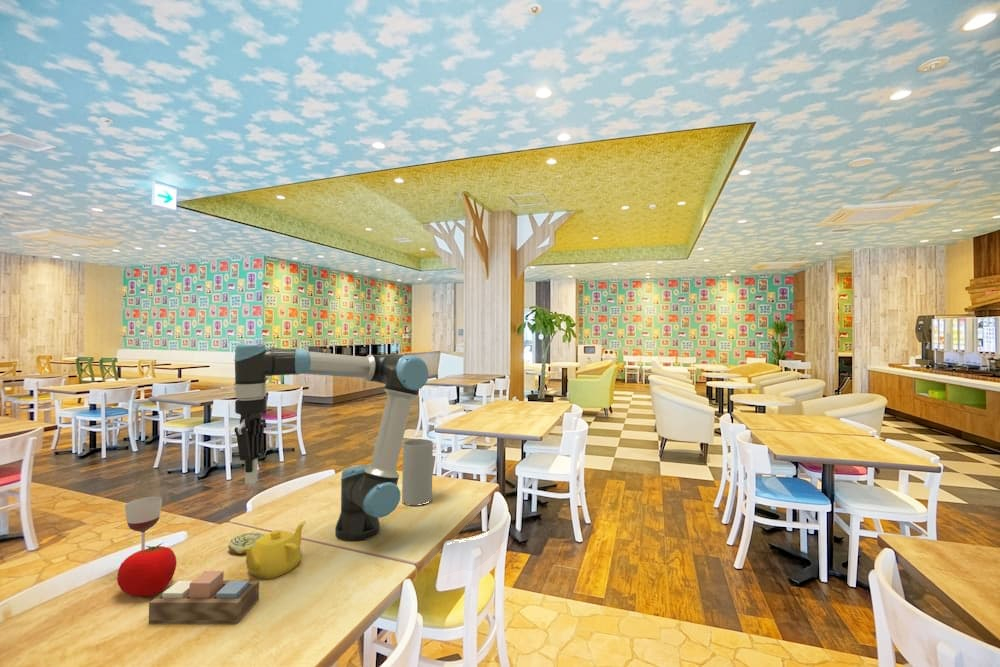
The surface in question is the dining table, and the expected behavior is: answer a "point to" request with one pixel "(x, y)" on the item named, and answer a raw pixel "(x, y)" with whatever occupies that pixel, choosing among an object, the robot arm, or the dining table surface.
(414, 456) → the cylinder vase
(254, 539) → the decorated donut
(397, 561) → the dining table surface
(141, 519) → the wineglass
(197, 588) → the terracotta key
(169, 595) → the ivory key
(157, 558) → the tomato
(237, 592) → the slate key
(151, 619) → the key block
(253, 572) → the teapot
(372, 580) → the dining table surface
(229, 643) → the dining table surface
